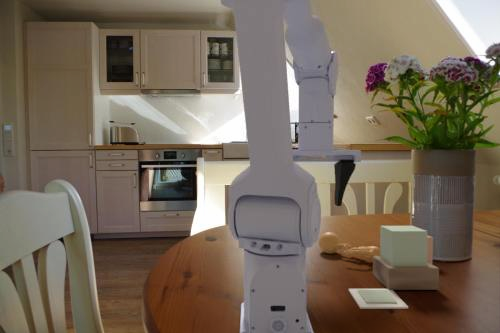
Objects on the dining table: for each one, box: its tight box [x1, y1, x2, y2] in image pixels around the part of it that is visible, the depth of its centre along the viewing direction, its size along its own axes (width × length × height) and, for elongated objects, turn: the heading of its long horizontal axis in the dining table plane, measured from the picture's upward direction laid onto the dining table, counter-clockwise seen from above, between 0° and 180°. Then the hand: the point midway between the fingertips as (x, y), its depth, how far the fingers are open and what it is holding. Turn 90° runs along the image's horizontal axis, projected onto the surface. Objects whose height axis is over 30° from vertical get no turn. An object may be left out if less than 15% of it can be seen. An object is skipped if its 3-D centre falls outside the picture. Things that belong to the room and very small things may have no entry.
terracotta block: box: [427, 234, 434, 265], centre depth 68 cm, size 5×5×5 cm
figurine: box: [318, 231, 380, 262], centre depth 70 cm, size 8×6×12 cm
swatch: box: [348, 288, 409, 310], centre depth 52 cm, size 6×6×1 cm
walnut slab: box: [372, 256, 440, 291], centre depth 58 cm, size 7×7×3 cm
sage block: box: [379, 225, 428, 266], centre depth 58 cm, size 5×5×5 cm
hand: (315, 205), depth 65 cm, fingers open, 7 cm apart
